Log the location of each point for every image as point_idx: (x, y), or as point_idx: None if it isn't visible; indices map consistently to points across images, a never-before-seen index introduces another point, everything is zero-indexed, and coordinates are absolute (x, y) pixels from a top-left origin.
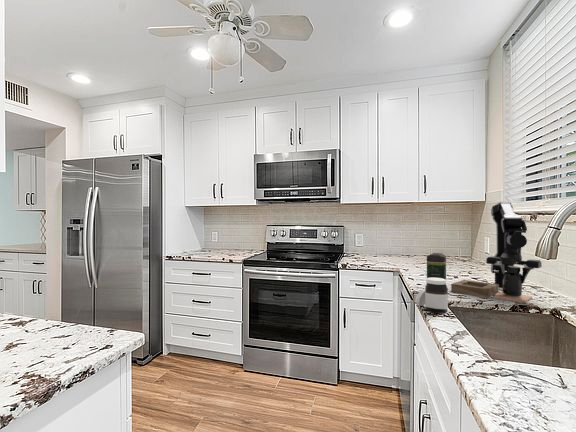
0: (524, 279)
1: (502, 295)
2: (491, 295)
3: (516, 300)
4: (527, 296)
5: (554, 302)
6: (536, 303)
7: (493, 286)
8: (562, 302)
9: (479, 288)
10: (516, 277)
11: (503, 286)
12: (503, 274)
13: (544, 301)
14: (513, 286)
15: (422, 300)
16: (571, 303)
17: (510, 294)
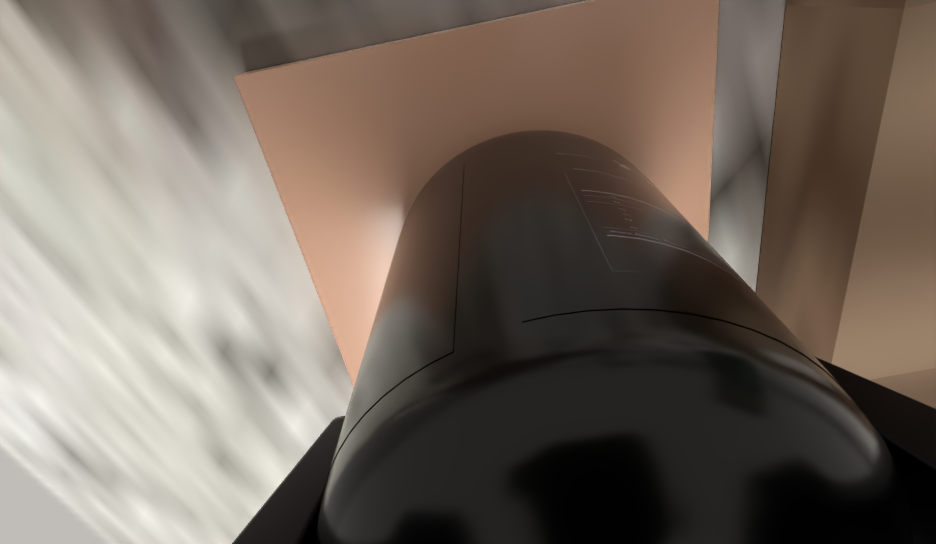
0: (274, 510)
1: (624, 134)
2: (776, 99)
3: (364, 47)
4: None
5: (132, 406)
6: (159, 180)
7: (857, 268)
8: (108, 464)
9: None
10: (388, 407)
11: (677, 211)
12: None
13: (205, 365)
14: (460, 213)
15: None
16: (49, 489)
17: (499, 138)
